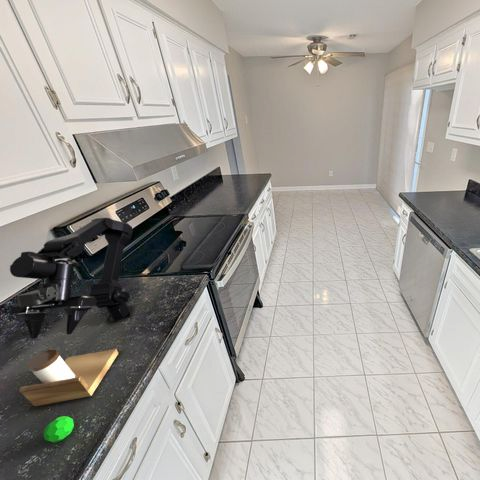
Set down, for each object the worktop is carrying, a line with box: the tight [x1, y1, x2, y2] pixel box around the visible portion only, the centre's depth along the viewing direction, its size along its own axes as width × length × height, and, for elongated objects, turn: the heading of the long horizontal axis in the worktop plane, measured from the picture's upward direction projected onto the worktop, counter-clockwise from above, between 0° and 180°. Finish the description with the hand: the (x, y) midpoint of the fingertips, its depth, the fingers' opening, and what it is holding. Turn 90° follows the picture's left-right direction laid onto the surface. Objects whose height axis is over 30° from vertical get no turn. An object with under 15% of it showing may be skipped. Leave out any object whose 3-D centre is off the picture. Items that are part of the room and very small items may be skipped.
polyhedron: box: [43, 415, 75, 443], centre depth 60 cm, size 5×5×5 cm
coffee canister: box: [26, 349, 75, 383], centre depth 69 cm, size 6×6×10 cm
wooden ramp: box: [18, 348, 119, 407], centre depth 73 cm, size 14×14×7 cm
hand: (51, 336), depth 71 cm, fingers open, 9 cm apart
